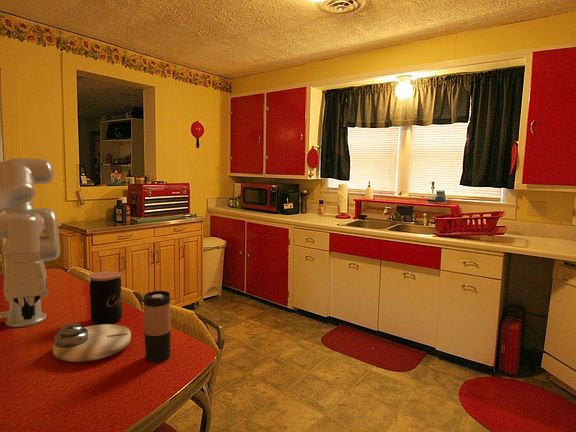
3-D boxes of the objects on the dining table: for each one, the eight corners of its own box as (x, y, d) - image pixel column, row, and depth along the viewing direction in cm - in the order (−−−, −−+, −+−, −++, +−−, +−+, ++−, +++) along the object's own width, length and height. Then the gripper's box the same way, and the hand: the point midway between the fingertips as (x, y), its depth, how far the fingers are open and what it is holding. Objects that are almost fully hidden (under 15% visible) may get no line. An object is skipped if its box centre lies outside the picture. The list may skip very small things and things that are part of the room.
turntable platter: (45, 366, 105) (44, 359, 105) (60, 334, 125) (60, 328, 125) (130, 354, 113) (129, 348, 113) (131, 326, 134) (131, 320, 133)
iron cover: (52, 349, 111) (51, 334, 111) (58, 337, 119) (57, 323, 119) (86, 345, 114) (85, 330, 114) (89, 333, 123) (89, 319, 122)
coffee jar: (110, 327, 136) (108, 279, 134) (84, 324, 138) (82, 277, 136) (128, 316, 147) (126, 272, 145) (104, 314, 149) (102, 270, 147)
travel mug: (149, 351, 119) (147, 290, 117) (173, 351, 120) (172, 290, 117) (141, 363, 111) (140, 298, 109) (167, 363, 112) (167, 298, 110)
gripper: (-11, 262, 103) (-7, 326, 105) (51, 258, 109) (55, 319, 111) (-2, 256, 110) (2, 317, 112) (57, 253, 116) (60, 311, 118)
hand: (28, 318), depth 111 cm, fingers closed
